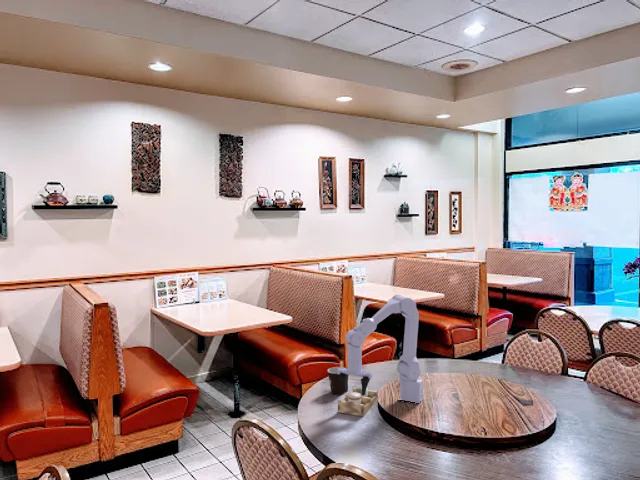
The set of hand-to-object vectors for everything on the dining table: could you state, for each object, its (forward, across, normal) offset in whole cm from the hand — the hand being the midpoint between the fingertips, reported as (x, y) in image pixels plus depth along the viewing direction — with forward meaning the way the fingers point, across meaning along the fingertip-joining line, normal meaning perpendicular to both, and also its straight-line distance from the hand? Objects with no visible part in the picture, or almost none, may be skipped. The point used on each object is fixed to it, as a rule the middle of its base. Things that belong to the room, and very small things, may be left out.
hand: (354, 393), depth 200 cm
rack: (+7, 0, +4) cm, 8 cm away
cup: (+6, 0, 0) cm, 6 cm away
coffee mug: (+7, -15, +17) cm, 24 cm away
